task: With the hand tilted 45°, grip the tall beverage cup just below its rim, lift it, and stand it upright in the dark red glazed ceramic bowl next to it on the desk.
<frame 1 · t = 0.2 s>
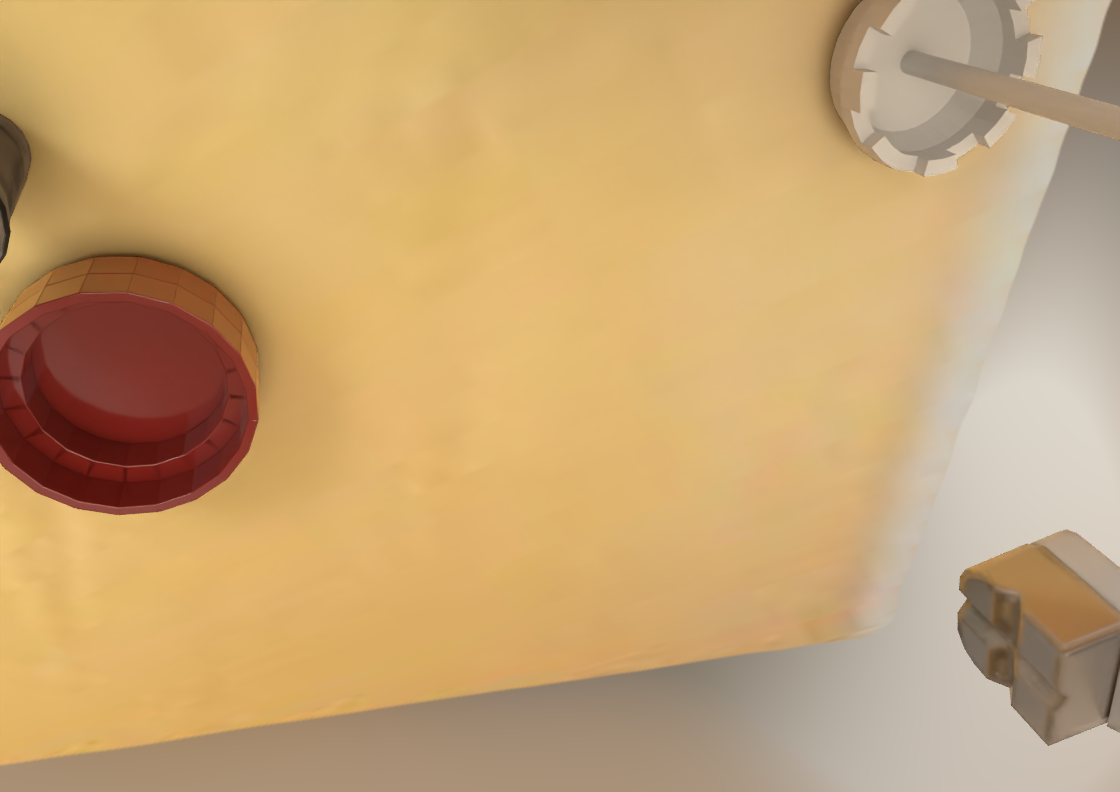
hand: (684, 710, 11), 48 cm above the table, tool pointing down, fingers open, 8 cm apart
bowl: (135, 363, 56), on the table
flag stand: (900, 59, 61), on the table
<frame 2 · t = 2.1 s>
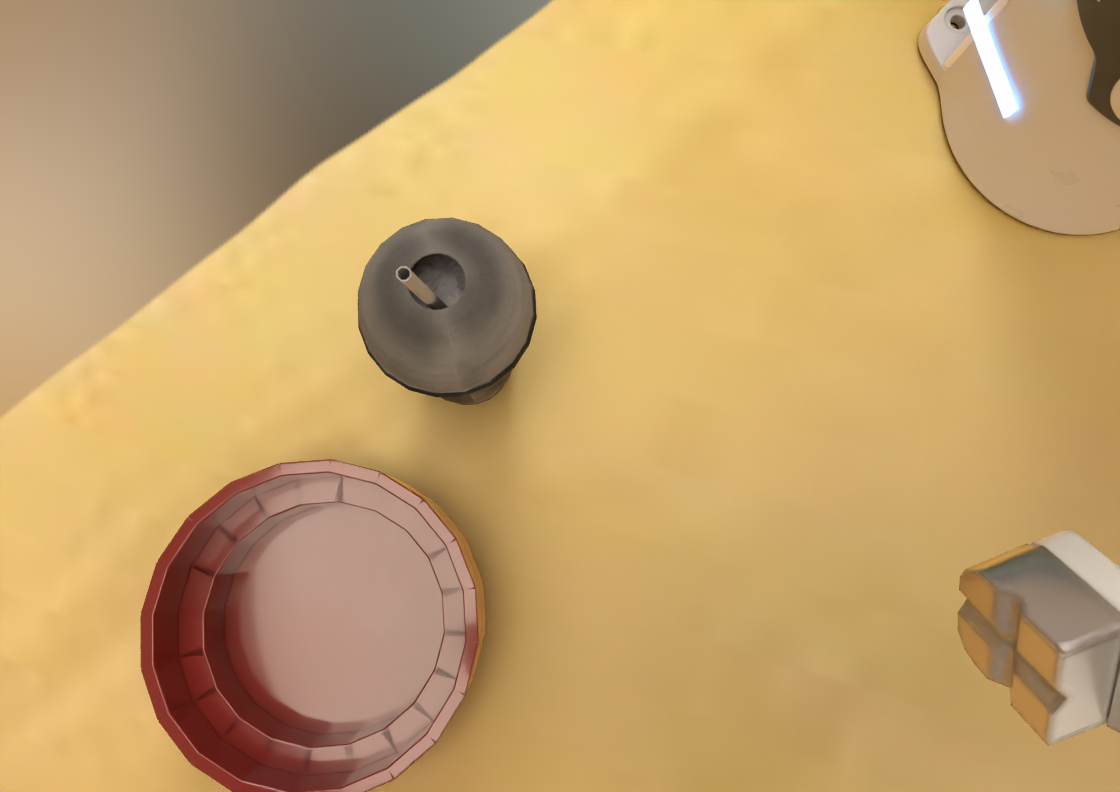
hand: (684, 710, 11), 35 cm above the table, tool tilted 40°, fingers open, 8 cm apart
bowl: (339, 615, 45), on the table
beverage cup: (468, 363, 47), on the table
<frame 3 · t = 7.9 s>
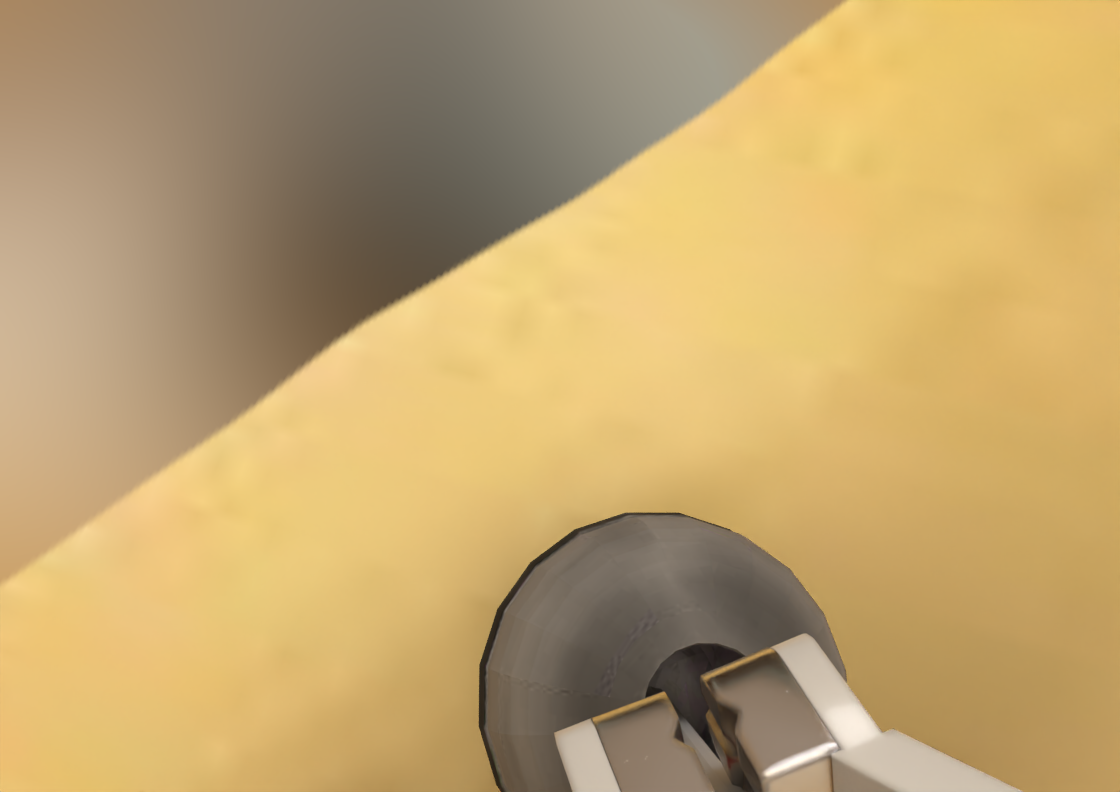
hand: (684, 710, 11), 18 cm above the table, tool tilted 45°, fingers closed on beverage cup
beverage cup: (586, 662, 29), on the table, touching gripper
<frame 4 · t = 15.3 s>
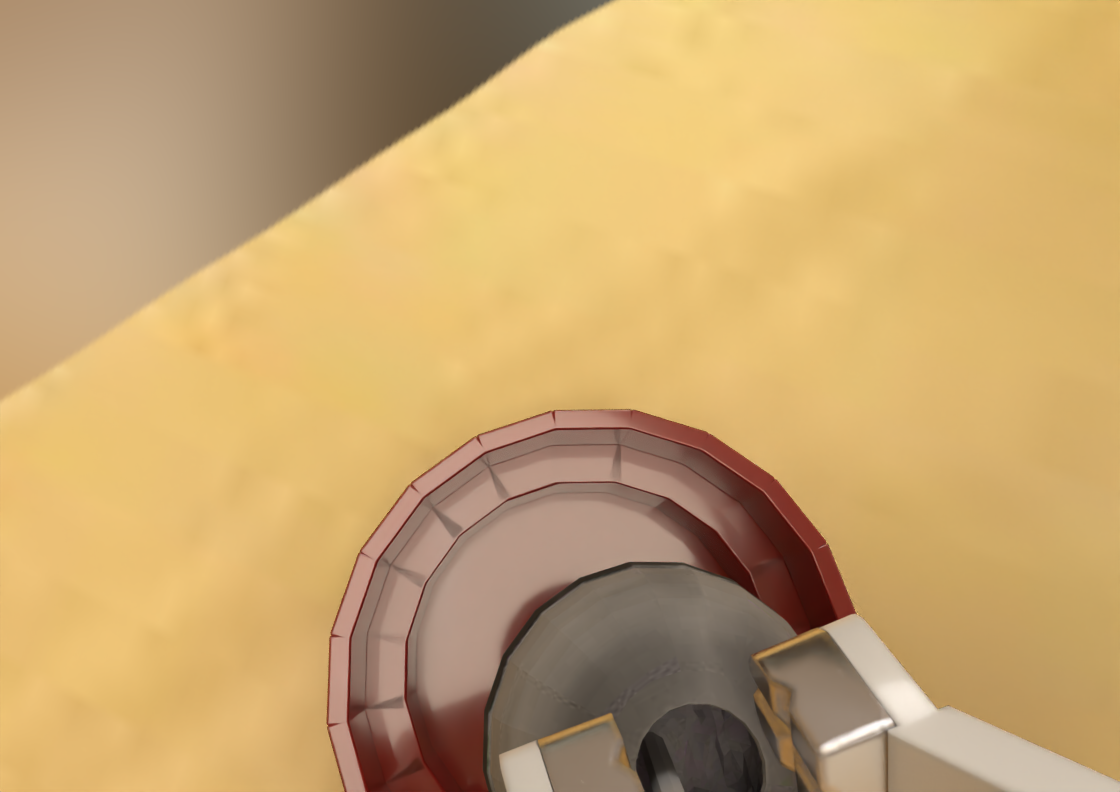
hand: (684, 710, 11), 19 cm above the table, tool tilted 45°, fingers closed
bowl: (583, 658, 30), on the table
beverage cup: (599, 692, 29), resting on bowl, touching gripper
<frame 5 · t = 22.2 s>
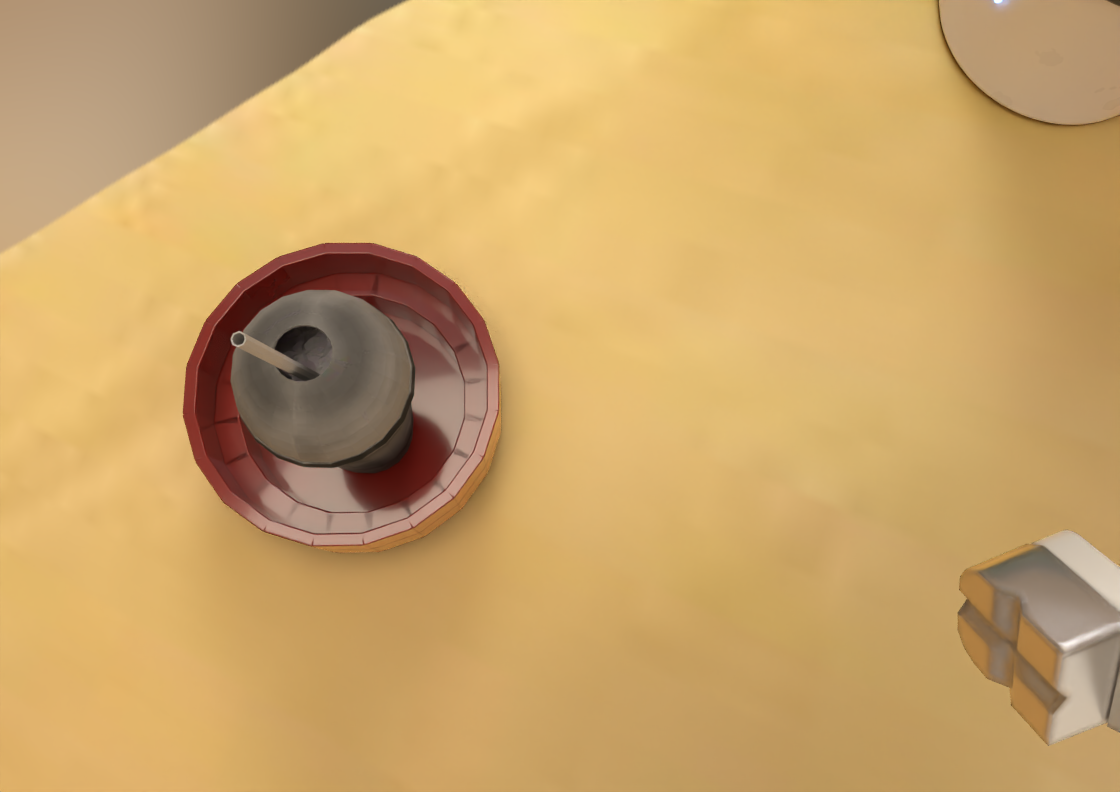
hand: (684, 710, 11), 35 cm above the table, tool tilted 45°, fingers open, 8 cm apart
bowl: (364, 414, 48), on the table
beverage cup: (371, 432, 47), resting on bowl
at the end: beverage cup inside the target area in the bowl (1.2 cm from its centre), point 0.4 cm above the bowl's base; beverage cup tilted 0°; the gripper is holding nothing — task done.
